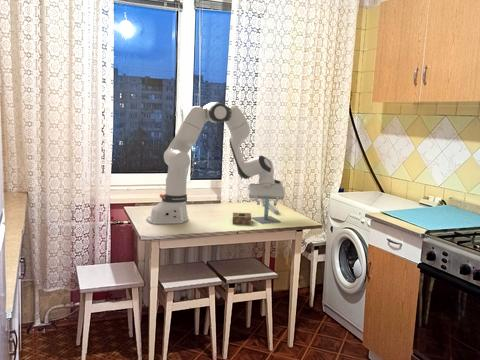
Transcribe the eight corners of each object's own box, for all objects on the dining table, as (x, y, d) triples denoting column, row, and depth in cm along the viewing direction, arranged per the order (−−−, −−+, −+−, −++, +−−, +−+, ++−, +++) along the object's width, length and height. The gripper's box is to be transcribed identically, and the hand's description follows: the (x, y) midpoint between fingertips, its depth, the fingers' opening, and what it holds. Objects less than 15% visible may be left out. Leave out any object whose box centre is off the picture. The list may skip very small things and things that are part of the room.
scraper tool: (264, 219, 259) (265, 198, 257) (263, 218, 262) (265, 197, 260) (267, 219, 259) (269, 198, 257) (267, 218, 262) (268, 197, 260)
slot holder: (232, 224, 249) (232, 216, 248) (232, 219, 259) (232, 212, 258) (251, 224, 249) (251, 217, 249) (250, 220, 259) (250, 213, 259)
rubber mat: (261, 223, 252) (261, 222, 252) (251, 218, 263) (251, 217, 263) (280, 222, 257) (280, 221, 257) (270, 217, 268) (270, 216, 268)
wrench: (275, 219, 275) (259, 203, 302) (278, 219, 275) (261, 203, 303) (276, 206, 273) (260, 191, 300) (279, 206, 273) (262, 191, 301)
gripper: (248, 180, 263) (248, 200, 255) (284, 181, 264) (285, 202, 256) (248, 186, 269) (247, 206, 261) (283, 188, 269) (284, 208, 261)
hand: (266, 204), depth 258 cm, fingers open, 8 cm apart
